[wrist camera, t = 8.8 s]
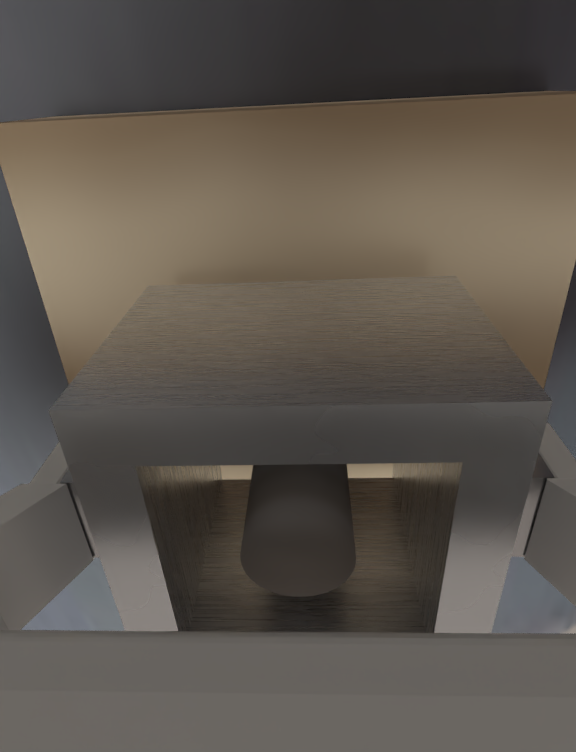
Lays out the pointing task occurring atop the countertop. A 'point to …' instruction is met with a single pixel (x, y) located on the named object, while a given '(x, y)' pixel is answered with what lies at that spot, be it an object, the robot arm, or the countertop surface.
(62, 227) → the shaft stand
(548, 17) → the countertop surface
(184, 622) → the silver square ring
